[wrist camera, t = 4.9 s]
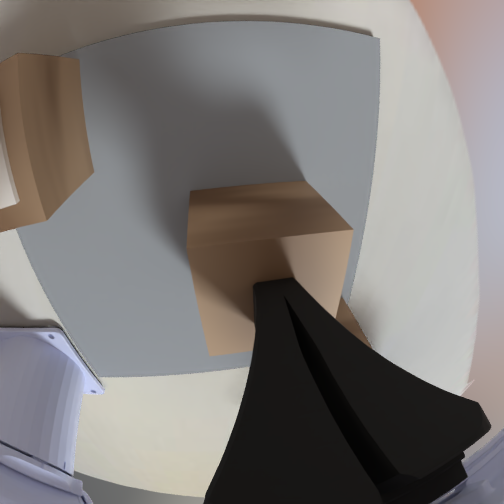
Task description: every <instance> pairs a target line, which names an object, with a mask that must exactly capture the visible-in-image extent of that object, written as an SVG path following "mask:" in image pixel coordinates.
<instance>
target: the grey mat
mask: <svg viewBox="0 0 504 504" xmlns="http://www.w3.org/2000/svg"><path fill="white" fill-rule="evenodd" d="M59 57H66V58H73V59H79V61H80V77H81V89H82V99H83V108H84V116H85V123H86V130H87V136H88V142H89V148H90V153H91V158H92V163H93V168H94V173H93V174H92V175H91V176H90V177H89V178H88V179H87V180H86V181H85V182H84V183H83V184H82V185H81V186H80V187H79V188H78V189H77V190H76V191H75V192H74V193H73V194H72V195H71V196H70V197H69V198H68V199H67V200H66V201H65V202H64V203H63V204H62V205H61V206H60V207H59V208H58V209H57V210H56V211H55V213H54V214H53V215H52V216H51V217H50V218H49V219H48V220H47V221H45V222H40V223H36V224H32V225H27V226H23V227H19V228H16V230H17V232H18V235H19V237H20V240H21V242H22V245H23V247H24V250H25V252H26V254H27V257H28V259H29V261H30V263H31V266H32V268H33V270H34V272H35V274H36V276H37V278H38V280H39V282H40V284H41V286H42V288H43V290H44V292H45V294H46V296H47V298H48V299H49V301H50V303H51V305H52V307H53V309H54V310H55V312H56V314H57V315H58V317H59V319H60V321H61V322H62V324H63V325H64V327H65V329H66V330H67V332H68V334H69V335H70V337H71V338H72V340H73V341H74V343H75V344H76V346H77V347H78V349H79V350H80V352H81V353H82V355H83V356H84V357H85V359H86V360H87V362H88V363H89V364H90V366H91V367H92V369H93V370H94V371H95V373H96V374H97V375H98V377H144V376H164V375H179V374H191V373H202V372H211V371H220V370H228V369H235V368H242V367H249V366H250V364H251V359H252V353H253V351H247V352H240V353H233V354H225V355H217V356H209V352H208V348H207V344H206V340H205V335H204V331H203V327H202V322H201V318H200V314H199V309H198V304H197V300H196V295H195V290H194V285H193V280H192V275H191V270H190V265H189V259H188V254H187V249H186V248H187V228H188V212H189V198H190V191H194V190H202V189H211V188H220V187H230V186H240V185H251V184H264V183H277V182H293V181H307V182H308V183H309V184H310V185H311V186H312V187H313V188H314V189H315V190H316V191H317V192H318V193H319V194H320V195H321V196H322V197H323V198H324V199H325V200H326V201H327V202H328V203H329V204H330V205H331V206H332V207H333V208H334V209H335V210H336V211H337V212H338V213H339V214H340V216H341V217H342V218H343V219H344V220H345V221H346V222H347V223H348V224H349V225H350V226H351V227H352V228H353V229H354V231H353V237H352V243H351V248H350V254H349V259H348V264H347V269H346V274H345V279H344V283H343V288H342V293H341V297H340V298H343V299H344V300H345V302H346V304H347V305H348V301H349V298H350V294H351V290H352V285H353V281H354V277H355V273H356V268H357V264H358V259H359V254H360V249H361V244H362V239H363V234H364V229H365V223H366V217H367V211H368V205H369V199H370V192H371V185H372V177H373V169H374V161H375V152H376V141H377V129H378V115H379V96H380V38H376V37H372V36H368V35H364V34H360V33H355V32H350V31H345V30H340V29H334V28H328V27H322V26H315V25H306V24H297V23H286V22H269V21H223V22H206V23H195V24H185V25H177V26H170V27H164V28H158V29H152V30H147V31H142V32H137V33H132V34H128V35H124V36H120V37H116V38H112V39H108V40H105V41H101V42H98V43H95V44H92V45H89V46H86V47H83V48H80V49H77V50H74V51H71V52H69V53H66V54H63V55H61V56H59Z"/></svg>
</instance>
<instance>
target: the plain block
mask: <svg viewBox="0 0 504 504" xmlns="http://www.w3.org/2000/svg"><path fill="white" fill-rule="evenodd" d="M353 231H354V229H353V228H352V227H351V226H350V225H349V224H348V223H347V222H346V221H345V220H344V219H343V218H342V217H341V216H340V214H339V213H338V212H337V211H336V210H335V209H334V208H333V207H332V206H331V205H330V204H329V203H328V202H327V201H326V200H325V199H324V198H323V197H322V196H321V195H320V194H319V193H318V192H317V191H316V190H315V189H314V188H313V187H312V186H311V185H310V184H309V183H308V182H307V181H293V182H277V183H264V184H251V185H240V186H230V187H220V188H211V189H202V190H194V191H190V198H189V212H188V228H187V248H186V249H187V254H188V259H189V265H190V270H191V275H192V280H193V285H194V290H195V295H196V300H197V304H198V309H199V314H200V318H201V322H202V327H203V331H204V335H205V340H206V344H207V348H208V352H209V356H217V355H225V354H233V353H240V352H247V351H253V346H254V339H255V326H254V306H253V285H254V284H255V283H256V282H263V281H270V280H278V279H285V278H292V277H293V278H295V279H296V280H297V281H298V282H299V283H300V284H301V285H302V286H303V287H304V289H305V290H306V291H307V292H308V293H309V294H310V295H311V296H312V297H313V298H314V299H315V300H316V301H317V302H318V303H319V304H320V305H321V306H322V307H323V308H324V309H325V310H327V311H328V312H329V313H330V314H331V315H332V316H333V317H334V318H336V314H337V310H338V306H339V301H340V297H341V293H342V288H343V283H344V279H345V274H346V269H347V264H348V259H349V254H350V248H351V243H352V237H353Z"/></svg>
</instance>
